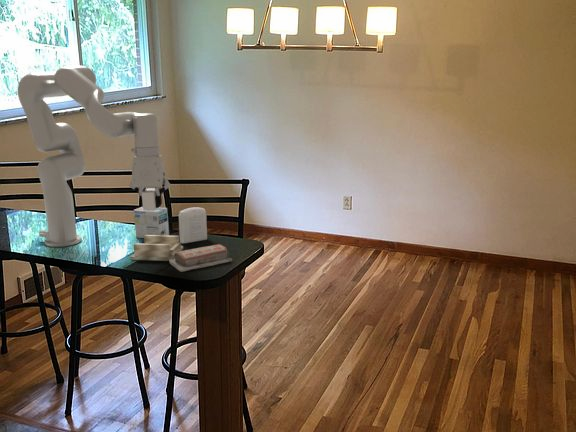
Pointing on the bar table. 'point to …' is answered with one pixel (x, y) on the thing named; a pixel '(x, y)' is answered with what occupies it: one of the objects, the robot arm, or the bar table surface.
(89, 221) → the bar table surface
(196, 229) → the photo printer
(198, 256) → the packaged product
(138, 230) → the light bulb box
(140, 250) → the beige wooden tray
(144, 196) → the white rectangular block
